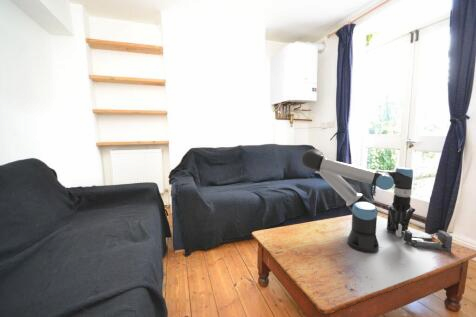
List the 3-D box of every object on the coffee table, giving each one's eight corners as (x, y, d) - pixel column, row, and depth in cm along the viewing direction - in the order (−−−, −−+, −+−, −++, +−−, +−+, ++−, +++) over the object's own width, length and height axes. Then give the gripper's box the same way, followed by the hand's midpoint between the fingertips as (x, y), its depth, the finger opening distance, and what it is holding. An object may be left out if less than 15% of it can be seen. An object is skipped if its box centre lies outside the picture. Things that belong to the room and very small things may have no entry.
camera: (407, 237, 127) (409, 213, 125) (386, 232, 133) (388, 209, 131) (407, 230, 135) (409, 208, 133) (387, 226, 141) (388, 204, 140)
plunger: (407, 242, 118) (408, 233, 117) (404, 239, 121) (404, 230, 121) (424, 244, 116) (425, 234, 115) (420, 241, 119) (421, 231, 118)
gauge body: (414, 247, 116) (416, 233, 115) (408, 240, 122) (409, 227, 121) (450, 251, 111) (452, 236, 110) (442, 244, 118) (443, 230, 117)
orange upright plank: (437, 247, 113) (438, 241, 112) (429, 241, 119) (430, 235, 119) (441, 247, 112) (441, 241, 112) (433, 241, 119) (433, 235, 119)
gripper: (391, 196, 116) (387, 237, 118) (419, 198, 112) (415, 240, 115) (386, 192, 123) (382, 231, 126) (412, 194, 119) (408, 233, 122)
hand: (398, 235), depth 120 cm, fingers closed
